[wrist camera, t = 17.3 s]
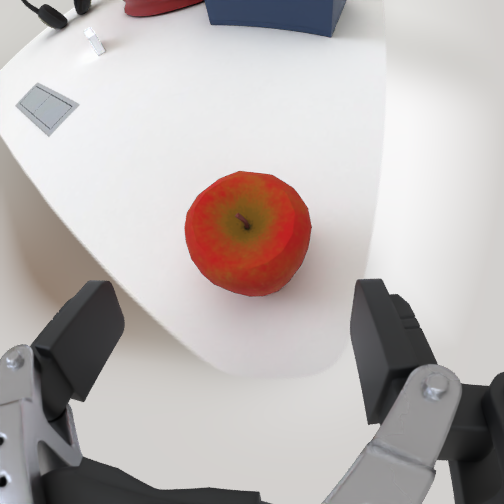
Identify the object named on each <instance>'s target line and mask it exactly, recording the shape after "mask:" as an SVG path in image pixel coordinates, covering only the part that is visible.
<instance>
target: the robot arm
mask: <svg viewBox="0 0 504 504" xmlns="http://www.w3.org/2000/svg"><path fill="white" fill-rule="evenodd" d="M123 331H124V316H123V314H122V311H121V308H120V305H119V303H118V300H117V297H116V294H115V291H114V288H113V286H112V284H111V283H110V282H109V281H95V280H90V281H88V282H87V283H86V284H85V285H84V286H83V287H82V289H81V290H80V291H79V292H78V293H77V294H76V295H75V296H74V297H73V298H71V299H70V300H68V301H67V302H66V303H65V304H64V306H63V307H62V308H61V309H60V310H59V313H57V314H56V315H55V316H54V318H53V320H51V321H50V322H49V323H48V324H47V326H46V327H45V328H44V329H43V331H42V332H41V333H40V334H39V335H38V337H37V338H36V339H35V340H34V342H33V343H32V344H31V346H28V345H17V346H15V347H13V348H11V349H9V350H8V351H7V352H6V353H5V354H4V355H3V356H2V358H1V359H0V504H271V503H267V502H264V501H261V497H260V493H259V492H255V491H238V490H227V489H217V488H210V487H209V488H197V489H196V488H195V489H174V490H159V489H156V488H153V487H151V486H149V485H147V484H145V483H143V482H141V481H140V480H138V479H136V478H134V477H132V476H130V475H129V474H127V473H125V472H124V471H122V470H120V469H118V468H115V467H112V466H109V465H106V464H102V463H99V462H97V461H93V460H91V459H88V458H85V457H83V456H82V453H81V450H80V446H79V442H78V438H77V434H76V429H75V424H74V419H73V413H72V409H71V407H70V405H69V404H68V402H69V400H70V398H71V399H75V400H78V401H82V402H84V401H85V399H86V397H87V396H88V394H89V392H90V390H91V388H92V386H93V385H94V383H95V381H96V379H97V377H98V375H99V374H100V372H101V370H102V368H103V367H104V365H105V363H106V361H107V359H108V358H109V356H110V354H111V353H112V351H113V349H114V347H115V346H116V344H117V342H118V340H119V339H120V337H121V335H122V333H123ZM350 335H351V341H352V345H353V350H354V354H355V359H356V364H357V369H358V373H359V378H360V383H361V388H362V393H363V399H364V404H365V410H366V416H367V421H368V425H370V424H377V423H380V428H379V430H378V431H377V433H376V434H375V436H374V437H373V439H372V440H371V442H369V443H368V444H367V445H366V447H365V448H364V449H363V451H362V452H361V453H360V455H359V456H358V458H357V459H356V461H355V462H354V463H353V465H352V466H351V468H350V469H349V470H348V471H347V473H346V474H345V475H344V477H343V478H342V479H341V480H340V482H339V483H338V484H337V485H336V487H335V488H334V489H333V490H332V492H331V493H330V494H329V495H328V496H327V498H326V499H325V500H324V501H323V502H322V503H321V504H422V502H423V500H424V499H425V497H426V495H427V493H428V491H429V489H430V487H431V485H432V483H433V481H434V478H435V474H436V470H434V465H435V462H436V460H448V462H449V467H450V474H451V479H452V485H453V491H454V499H455V504H504V372H502V373H500V374H498V375H497V376H496V377H495V378H494V379H493V381H492V382H491V384H490V386H482V385H469V384H462V383H460V380H459V379H458V377H457V376H456V375H455V373H453V372H452V371H451V370H449V369H448V368H446V367H443V366H440V365H438V364H437V361H436V359H435V357H434V355H433V353H432V350H431V348H430V346H429V344H428V342H427V339H426V338H425V335H424V333H423V331H422V329H421V328H420V325H419V323H418V321H417V319H416V318H415V315H414V313H413V311H412V309H411V307H410V305H409V304H408V303H407V302H406V301H405V300H404V299H403V298H402V297H400V296H399V295H398V294H391V295H389V293H388V291H387V289H386V287H385V285H384V283H383V281H382V279H359V280H357V281H356V285H355V292H354V299H353V307H352V314H351V321H350Z"/></svg>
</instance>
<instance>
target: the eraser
mask: <svg viewBox="0 0 504 504" xmlns="http://www.w3.org/2000/svg"><path fill="white" fill-rule="evenodd" d="M84 33H85V35H86V36H87V38H88V40H89V41H90V43H91V45H92V47H93V48H94V50H95V51H96V53H97V54H98V56H99V55H100V54H102V53H103V52H105V50H104V48H103V46H102V44H101V43H100V41H99V39H98V37H97V35H96V34H95V32H94V31H93V30H92V29H91V27H90V28H88V29H86V30H85V31H84Z"/></svg>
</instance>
